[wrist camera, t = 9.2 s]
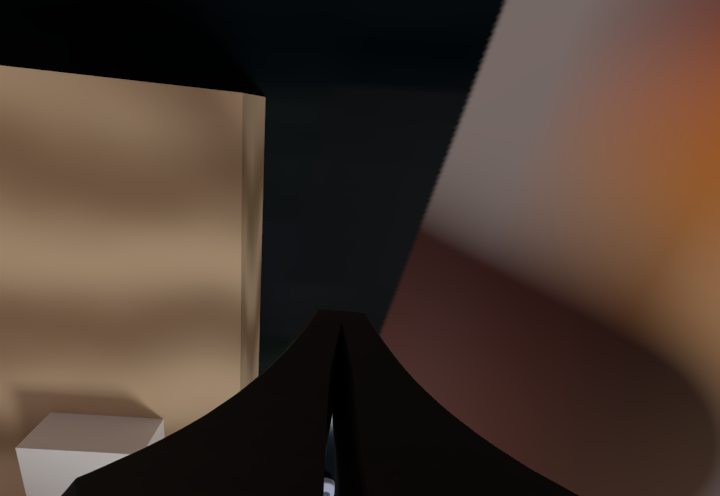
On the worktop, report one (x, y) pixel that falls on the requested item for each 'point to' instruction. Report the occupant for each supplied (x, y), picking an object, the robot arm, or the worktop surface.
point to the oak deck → (125, 250)
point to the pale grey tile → (79, 447)
